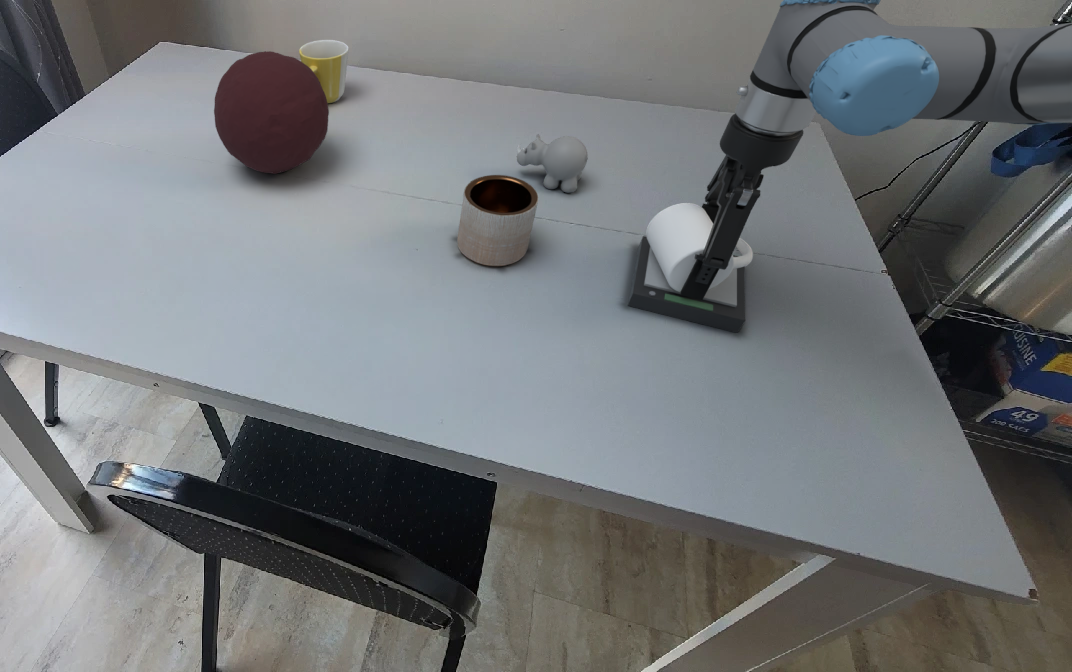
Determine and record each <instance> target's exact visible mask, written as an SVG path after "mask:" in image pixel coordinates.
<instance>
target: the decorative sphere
mask: <svg viewBox="0 0 1072 672" xmlns="http://www.w3.org/2000/svg"><path fill="white" fill-rule="evenodd" d="M213 114H214V126H215V130H216V132H217V134H218V137H219V139H220V141H221V143H222V145H223V146H224V148H225V149H226V151H227V152H228V154H230V155H231V156H232V157H233V158H234V159H236V160H237V161H238V162H240V163H242V164H243V165H244V166H245V167H247V168H250V169H252V170H254V171H256V172H259V173H267V174H274V175H275V174H276V175H277V174H279V173H280V174H281V173H285V172H288V171H289V170H293V169H294V168H296V167H298V166H300V165H302V164H304V163H306V162H307V161H309V160H310V159H311V158H312V157H313V155H314V154H315V152H316V151H317V150H318V149H319V148H320V146H321V144H322V143H323V141H324V140H325V138H326V137H327V134H328V129H329V128H328V127H329V116H330V110H329V103H327V99H326V95H325V93H324V91H323V89H322V86H321V84H320V81H319V79H318V78H317V76H316V75H315V73H314V72H313V71H312V69H311V68H309V67H308V66H307V65H305V64H304V63H303V62H301V60H300V59H298V58H296V57H294V56H289V55H285V54H281V53H280V52H275V51H271V50H270V51H269V50H267V51H258V52H255V53H250V54H248V55H246V56H244V57H242V58H239V59H237V60H235V62H233V63H232V64H231V65H230V66H229V68H228V69H227V71H226V72H225V73H224V74H223V75H222V77H221V78H220V80H219V83H218V85H217V89H216V92H215V95H214V108H213Z"/></svg>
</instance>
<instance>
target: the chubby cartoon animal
mask: <svg viewBox="0 0 1072 672" xmlns="http://www.w3.org/2000/svg"><path fill="white" fill-rule="evenodd" d="M588 155H589V154H588V149H587V146H586V145H585V144H584V142H583V141H582V140H580V139H579V138H577V137H575V136H571V135H564V136H559V137H557V138H555V139H554V140H552V141H551V142H550V143H548V144H547V143H546V142H544V141H543V140H541V136H540V134H539V133H538V134H536V138H535V140H533V141H531V142H530V143H529V144H528V145H527V146H526V148H525V147H522V148H521V144H520V143H519V144H518V145H517V147H516V162H517V163H518V165H520V166H522V167H526V166H529V165H531V166H535V167H538V166H542V167H543V169H544V170H545V172H546V175H545V177H544V179H543V181H542V182H543V183H542V184H543V186H544V187H545V188H546V189H548V190H554V189H557V188H558V187H559V185H560V189H561V191H562V192H565V193H567V194H569V193H574V192H576V190H577V189H578V181H580V180H581V178H582V174H583V171H584V169H585V168H586V166H587V162H588V160H589V156H588ZM560 183H561V184H560Z"/></svg>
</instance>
